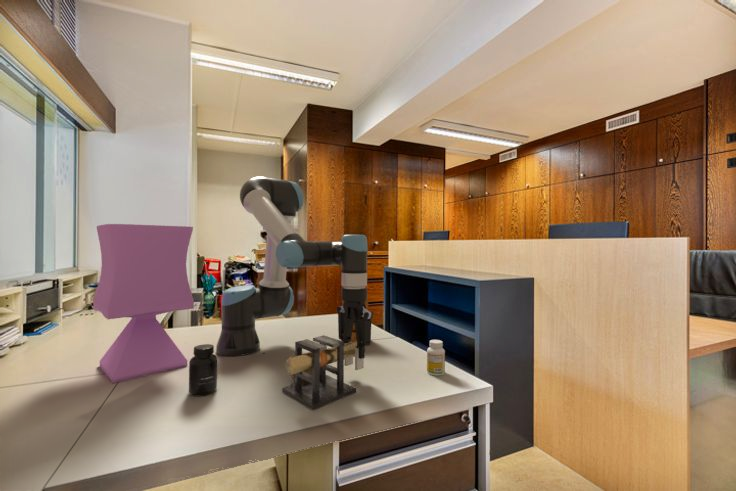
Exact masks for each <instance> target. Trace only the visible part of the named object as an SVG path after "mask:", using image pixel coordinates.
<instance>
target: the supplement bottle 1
mask: <svg viewBox="0 0 736 491" xmlns="http://www.w3.org/2000/svg"><path fill="white" fill-rule="evenodd" d="M214 347H215V346H214V345H213V344H212V343H211V344H209V343H205V344H199V345H195V346H194V347H193V352H192V353H193V357H191V358H190V360H189V365H188V393H189V395H190V396H194V397H202V396H203V397H205V396H209V395H210V394H213V393H215V391H216V390H217V388H218V387H217V386H218V357H217V356H216V354H214V353H215V349H214Z"/></svg>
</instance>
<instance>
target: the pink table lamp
mask: <svg viewBox="0 0 736 491" xmlns="http://www.w3.org/2000/svg"><path fill="white" fill-rule="evenodd" d="M193 230H194V226H182V225H181V226H180V225H159V224H158V225H155V224H152V225H151V224H131V223H129V224H127V223H126V224H125V223H105V224H104V223H103V224H100V225H96V231H97V232H96V233H97V236H98V240H99V241H98V242H99V247H100V254H101V267H100V270H101V271H100V275H99V276H100V277H99V281H98V285H97V288H96V291H95V293H94V297H93V310H94V311H97V312H100V313H101V315H102V316H103V317H104V318H105V319H107V320H113V319H121V318H123V319H124V318H131V319H130V320H129V321H128V323H127V324H126V325H125V327H124V328H123V329H122V330H121V332H120V333H119V334H118V335H117V338H115V340H114V342H113V343H112V344H111V345H110V346H109V348H108V349H107V351H106V352H105V353H104V355H103V356H102V357H101V359H100V360H99V367H100V368H101V370H102V371H103V373H104V374H105V376H106V377H107V378H108V379H109V381H110V382H111V383H112V384H117V383H121V382H125V381H129V380H134V379H137V378H142V377H145V376H150V375H154V374H159V373H162V372H166V371H172V370H175V369H179V368H184V367H187V366H188V359H187V358H186V357H185V355H184V353H183V352H181V349H179V347H178V346H177V344H176V343H175V342H174V340H173V339H172V338H171V337H170V335H169V334H168V333H167V331H166V330H165V328H164V327H163V326H162V325H161V323H160V321H159V320H158V319H157V315H158V316H159V315H162V314H166V313H170V312H175V311H184V310H192V309H194V306H195V305H194V304H195V303H194V301H195V299H194V297H193V293H192V290H191V287H190V282H189V278H188V274H187V273H188V271H187V260H188V259H187V257H188V251H189V246H190V240H191V239H192V234H193Z"/></svg>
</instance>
